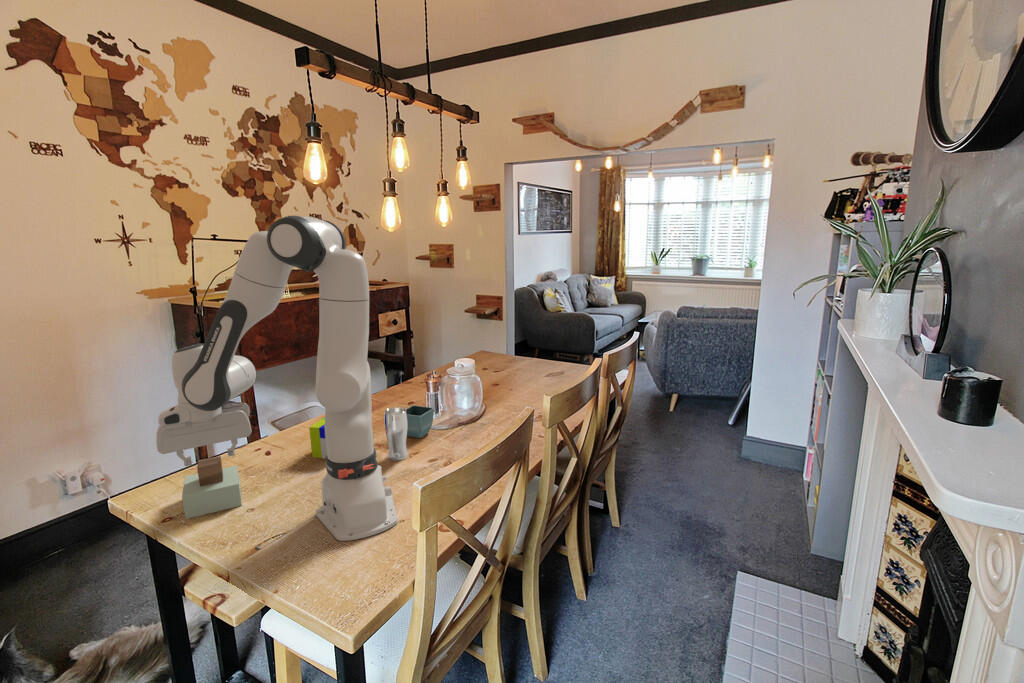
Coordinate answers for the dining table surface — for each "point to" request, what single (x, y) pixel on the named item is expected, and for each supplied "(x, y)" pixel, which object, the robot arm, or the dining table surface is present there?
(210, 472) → the walnut cube
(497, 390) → the dining table surface
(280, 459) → the dining table surface
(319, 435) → the puzzle toy
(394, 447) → the beer glass
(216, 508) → the block
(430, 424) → the flower pot
